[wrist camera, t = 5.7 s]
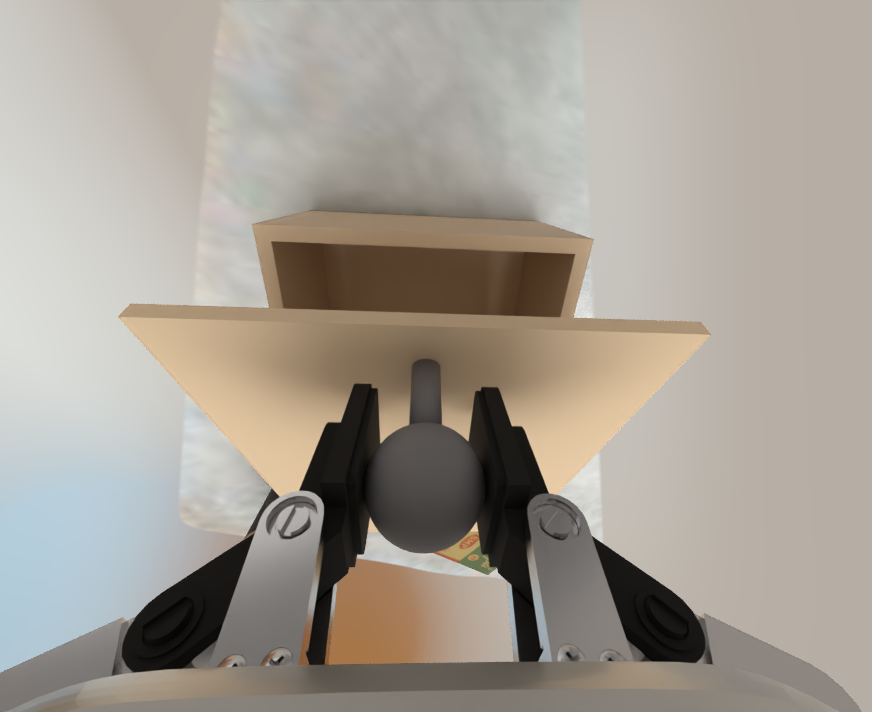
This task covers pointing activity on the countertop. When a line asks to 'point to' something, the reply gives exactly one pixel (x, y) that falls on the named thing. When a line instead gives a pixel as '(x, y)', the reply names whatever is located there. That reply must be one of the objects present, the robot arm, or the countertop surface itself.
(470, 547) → the carton
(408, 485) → the lid
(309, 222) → the box
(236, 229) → the countertop surface
